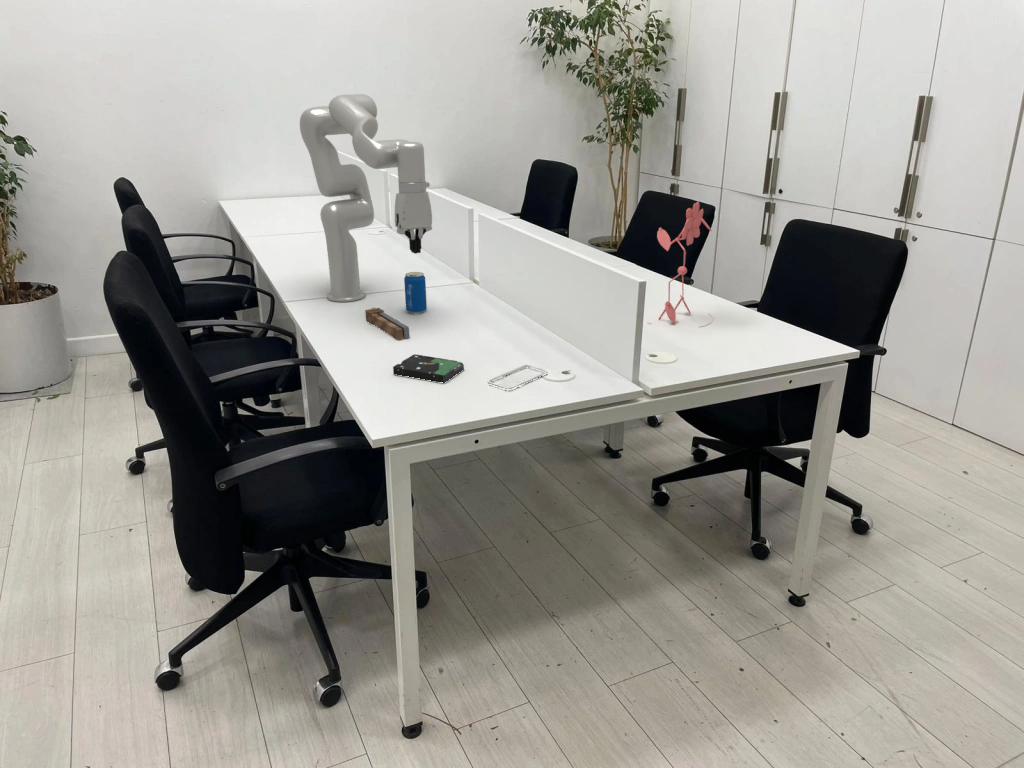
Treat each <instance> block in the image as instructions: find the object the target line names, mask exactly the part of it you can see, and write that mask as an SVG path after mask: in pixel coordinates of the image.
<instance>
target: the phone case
mask: <svg viewBox="0 0 1024 768" xmlns="http://www.w3.org/2000/svg"><path fill="white" fill-rule="evenodd" d="M526 367H528V368H526ZM523 368H525V369H529V368H530V369H531V368H533V369H536V370H540V371H542V372H541V373H539V374H536V375H534V376H533V377H529V378H528V379H526V380H524V381H521V382H519V383H517V384H514V385H512V386H509V387H507V386H504V385H501V384H499V383H496V382H495V383H494V382H493V381H495V380H497V379H499V378H505V377H504V376H506V375H508V374H510V375H512V374H511V373H513V372H515V373H517V372H519V371H518V370H520V369H522V370H524V369H523ZM516 371H517V372H516ZM520 371H521V370H520ZM545 373H547V374H548V370H546V369H544V368H541V367H537V366H533V365H530V364H523V365H522V366H519V367H516V368H514V369H512V370H510V371H506V372H504V373H502V374H500V375H497V376H494V377H493V378H490V379H488V380H487V381H486V384H487V383H488V384H492V385H495V386H498V387H501V388H505V389H512V388H514V387H516V386H519V385H522V384H524V383H526V382H529V381H531V380H533V379H536V378H538V377H540V376H542V375H543V374H545ZM513 374H514V373H513ZM508 376H509V375H508ZM506 377H507V376H506ZM491 381H492V382H491Z"/></svg>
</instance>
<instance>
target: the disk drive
mask: <svg viewBox="0 0 1024 768" xmlns="http://www.w3.org/2000/svg"><path fill="white" fill-rule="evenodd" d="M392 369H393V370H392V372H393V373H392V374H393V375H394V374H397V375H396V376H398V375H402V376H401V377H404V376H409V377H414V378H413V379H415V378H420V379H419V380H421V379H425V380H424V381H427V380H431V381H430V382H432V381H436V382H435V383H438V382H443V383H442V384H444V383H445V382H446V381H448V380H449V379H451V378H452V377H453V376H455V375H456V374H458V373H459V372H461V371H462V370H463V371H464V370H465V364H464V363H463V362H461V361H458V360H454V359H447V358H446V359H445V358H440V357H433V356H428V355H423V354H415V353H414V354H412V355H410V356H409V357H407V358H405V359H403V360H402V361H401V363H397V364H396V365H394V366H392ZM463 371H462V372H463ZM462 372H461V373H462ZM459 374H460V373H459ZM459 374H458V375H459ZM456 376H457V375H456ZM456 376H455V377H456ZM409 377H408V378H409ZM453 378H454V377H453ZM453 378H452V379H453ZM452 379H451V380H452ZM449 381H450V380H449ZM449 381H448V382H449ZM446 383H447V382H446ZM446 383H445V384H446Z"/></svg>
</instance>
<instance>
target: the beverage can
mask: <svg viewBox="0 0 1024 768" xmlns="http://www.w3.org/2000/svg"><path fill="white" fill-rule="evenodd" d="M403 281H404V282H403V283H404V297H405V300H404V301H405V311H406V312H408V313H409V312H410V313H409V314H412V313H420V314H423V313H425V311H427V308H428V304H427V289H426V288H427V283H426V276H425V275H424V272H420V271H410V272H407V273H405V276H404V277H403ZM422 312H423V313H422Z"/></svg>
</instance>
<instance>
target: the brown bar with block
mask: <svg viewBox="0 0 1024 768" xmlns="http://www.w3.org/2000/svg"><path fill="white" fill-rule="evenodd" d="M364 312H365V322H366V321H367V323H368V322H369V323H368V324H370V325H373V326H374V325H375V327H376V326H377V329H379V328H380V329H379V330H381V331H382V330H383V332H384V331H385V332H384V333H385V334H387V333H388V334H387V335H389V336H390V337H392V338H394V339H395V340H397V341H401V340H404V338H403V329H402V328H400V327H398V326H397V325H395V324H393V323H391V322H390V321H388V320H386V319H385V318H383V317H381V316H380V315H378V313H380V312H384V310H383V309H381V308H380V307H372V308H370V309H365V311H364ZM384 313H385V312H384Z"/></svg>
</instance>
